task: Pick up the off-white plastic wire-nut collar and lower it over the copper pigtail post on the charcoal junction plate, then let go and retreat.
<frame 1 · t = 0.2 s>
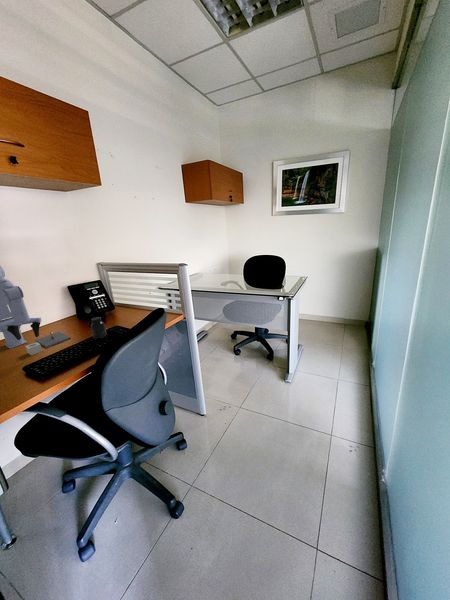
hand: (28, 337, 117), 10 cm above the table, fingers open, 7 cm apart
junction plate: (53, 340, 136), on the table
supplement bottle: (100, 338, 134), on the table
collar: (35, 352, 123), on the table
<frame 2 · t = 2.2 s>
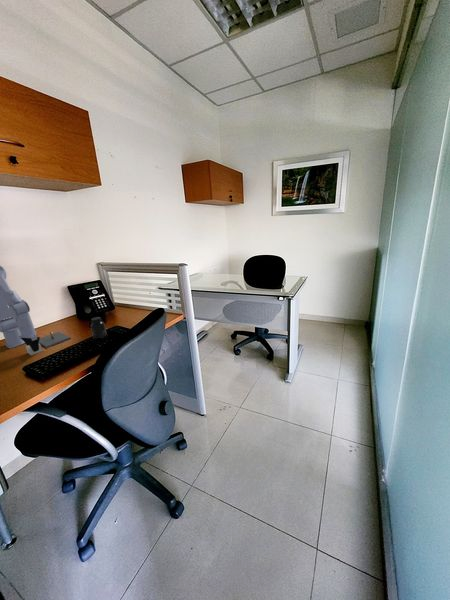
hand: (34, 349, 123), 1 cm above the table, fingers closed on collar, 5 cm apart
collar: (35, 352, 123), on the table, touching gripper
everything else where it was.
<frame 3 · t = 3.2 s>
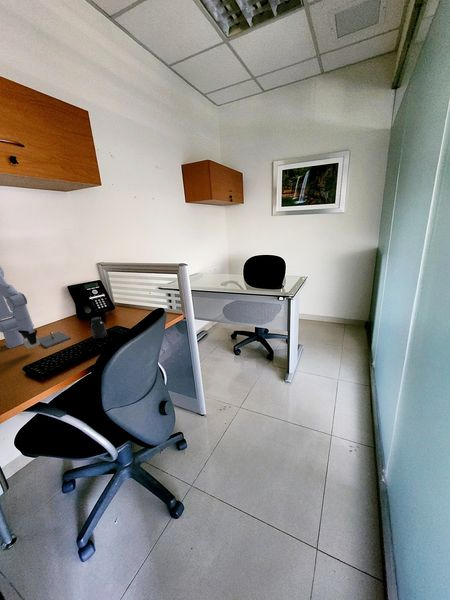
hand: (31, 342, 122), 5 cm above the table, fingers closed on collar, 5 cm apart
collar: (32, 345, 122), point 4 cm above the table, touching gripper
everything else where it was.
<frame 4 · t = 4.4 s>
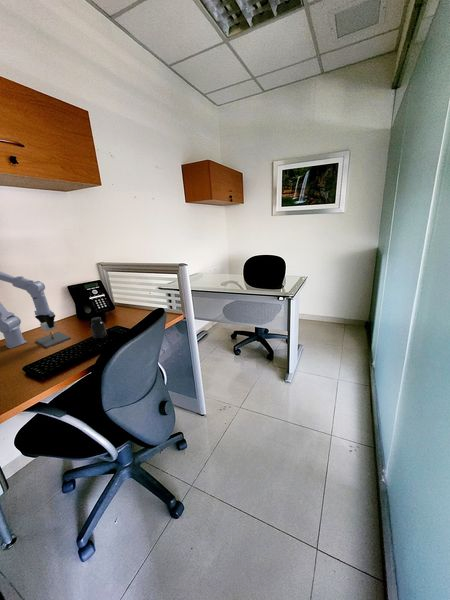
hand: (48, 326, 133), 8 cm above the table, fingers closed on collar, 5 cm apart
collar: (49, 329, 133), point 7 cm above the table, touching gripper
everything else where it was.
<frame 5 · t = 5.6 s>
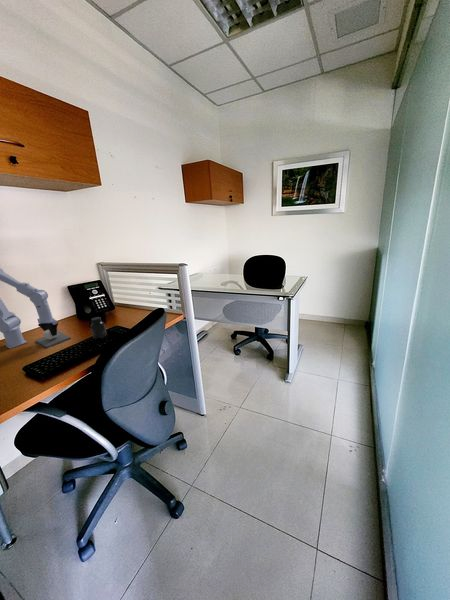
hand: (51, 334, 135), 3 cm above the table, fingers closed on collar, 5 cm apart
collar: (52, 336, 135), point 2 cm above the table, touching gripper
everything else where it was.
when the fingers open (3 cm above the table, at t = 6.5 s): collar stays where it is, resting on junction plate.
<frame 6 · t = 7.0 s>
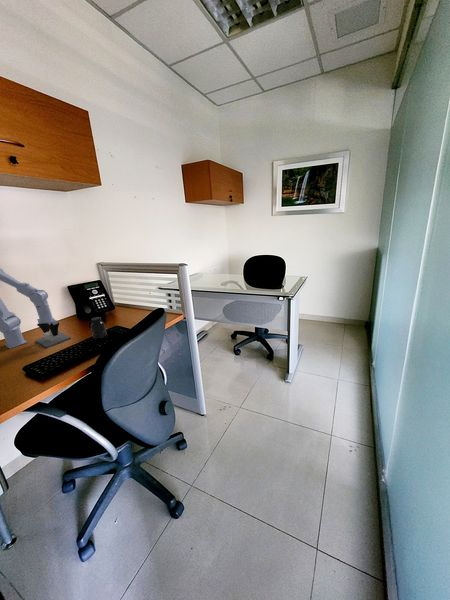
hand: (51, 334, 135), 3 cm above the table, fingers open, 7 cm apart
collar: (52, 338, 135), point 1 cm above the table, touching junction plate
everything else where it was.
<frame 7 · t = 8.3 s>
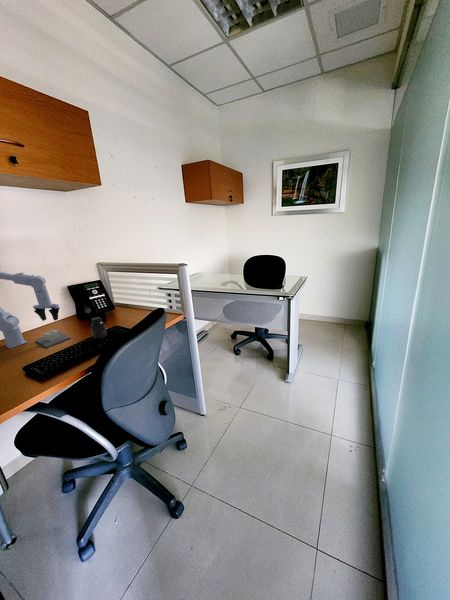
hand: (50, 320, 137), 10 cm above the table, fingers open, 7 cm apart
nothing on the table moved.
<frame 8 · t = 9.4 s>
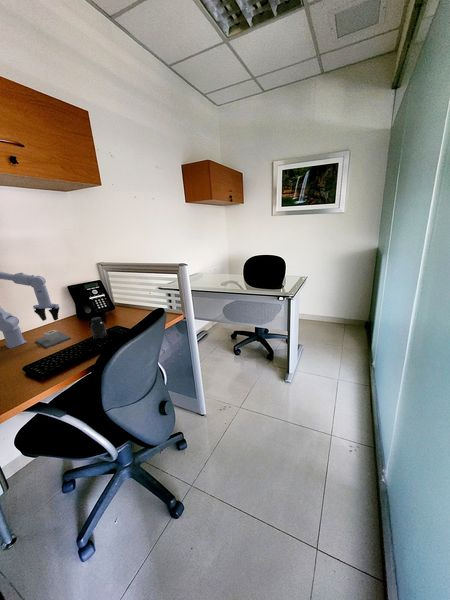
hand: (50, 320, 137), 10 cm above the table, fingers open, 7 cm apart
nothing on the table moved.
at the end: collar 0.0 cm off-centre on the junction plate, point 1.0 cm above the junction plate's base; collar tilted 0°; the gripper is holding nothing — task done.
